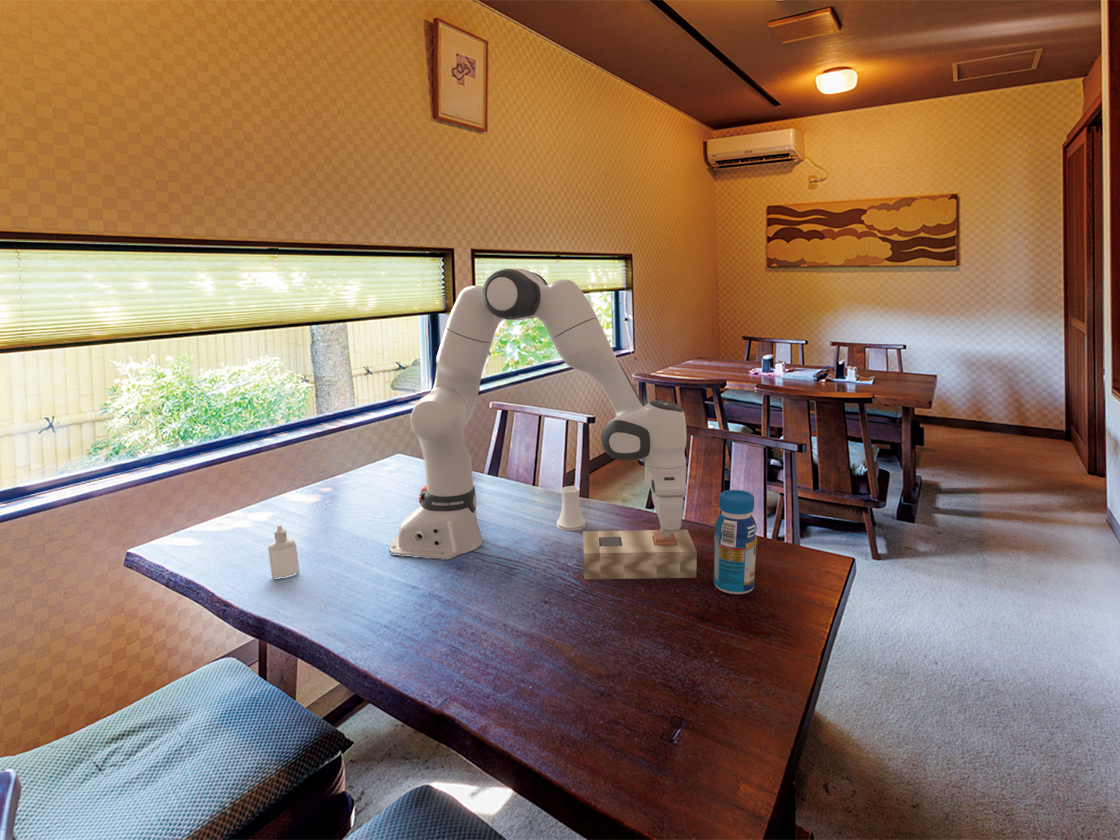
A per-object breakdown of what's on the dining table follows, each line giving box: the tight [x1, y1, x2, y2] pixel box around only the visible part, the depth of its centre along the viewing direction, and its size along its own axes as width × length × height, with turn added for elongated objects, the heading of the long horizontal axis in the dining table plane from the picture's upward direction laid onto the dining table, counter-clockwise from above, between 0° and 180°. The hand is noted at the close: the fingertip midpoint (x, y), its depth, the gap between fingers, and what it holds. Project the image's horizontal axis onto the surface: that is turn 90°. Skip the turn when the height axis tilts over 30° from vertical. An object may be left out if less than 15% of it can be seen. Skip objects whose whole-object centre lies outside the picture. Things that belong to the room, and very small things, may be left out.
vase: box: [556, 485, 586, 531], centre depth 165 cm, size 8×8×10 cm
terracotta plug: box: [653, 532, 676, 545], centre depth 140 cm, size 4×4×6 cm
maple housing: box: [582, 529, 698, 580], centre depth 141 cm, size 24×12×6 cm, turn 88°
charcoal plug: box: [600, 537, 621, 546], centre depth 141 cm, size 4×4×6 cm
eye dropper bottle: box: [267, 524, 300, 579], centre depth 141 cm, size 4×6×12 cm
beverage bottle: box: [713, 489, 758, 595], centre depth 129 cm, size 8×8×20 cm
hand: (665, 535), depth 140 cm, fingers closed, pressing on terracotta plug
